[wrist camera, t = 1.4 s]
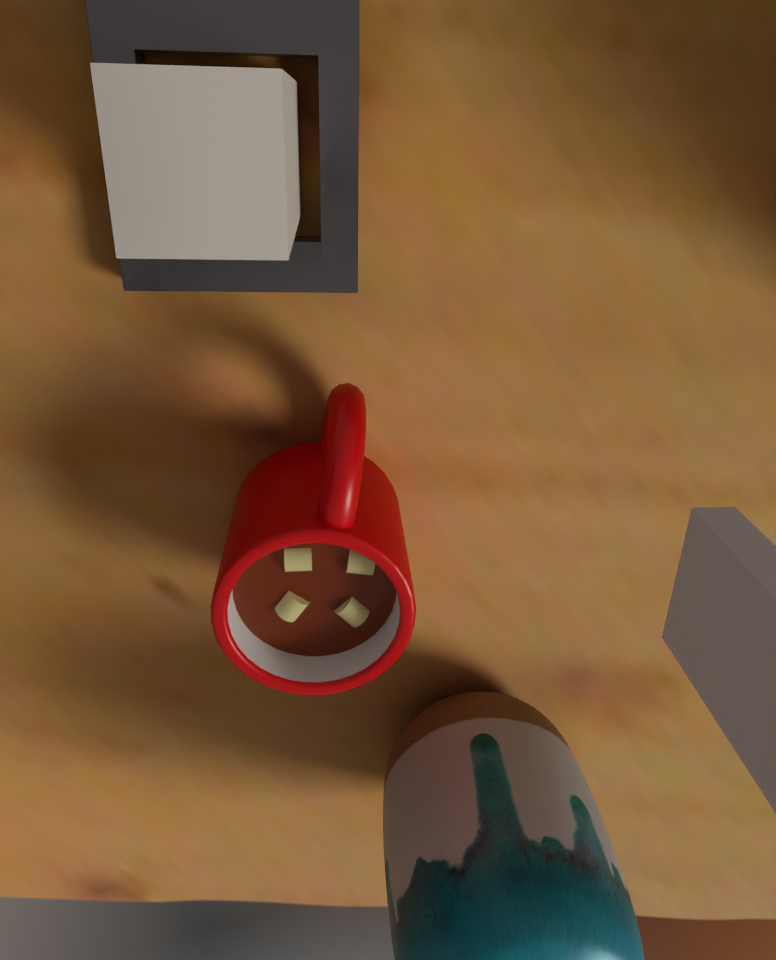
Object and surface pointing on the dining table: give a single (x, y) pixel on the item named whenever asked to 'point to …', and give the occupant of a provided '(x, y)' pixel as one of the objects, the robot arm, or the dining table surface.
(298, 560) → the mug
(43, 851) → the dining table surface
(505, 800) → the vase
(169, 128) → the peg
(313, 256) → the grey slotted plate
